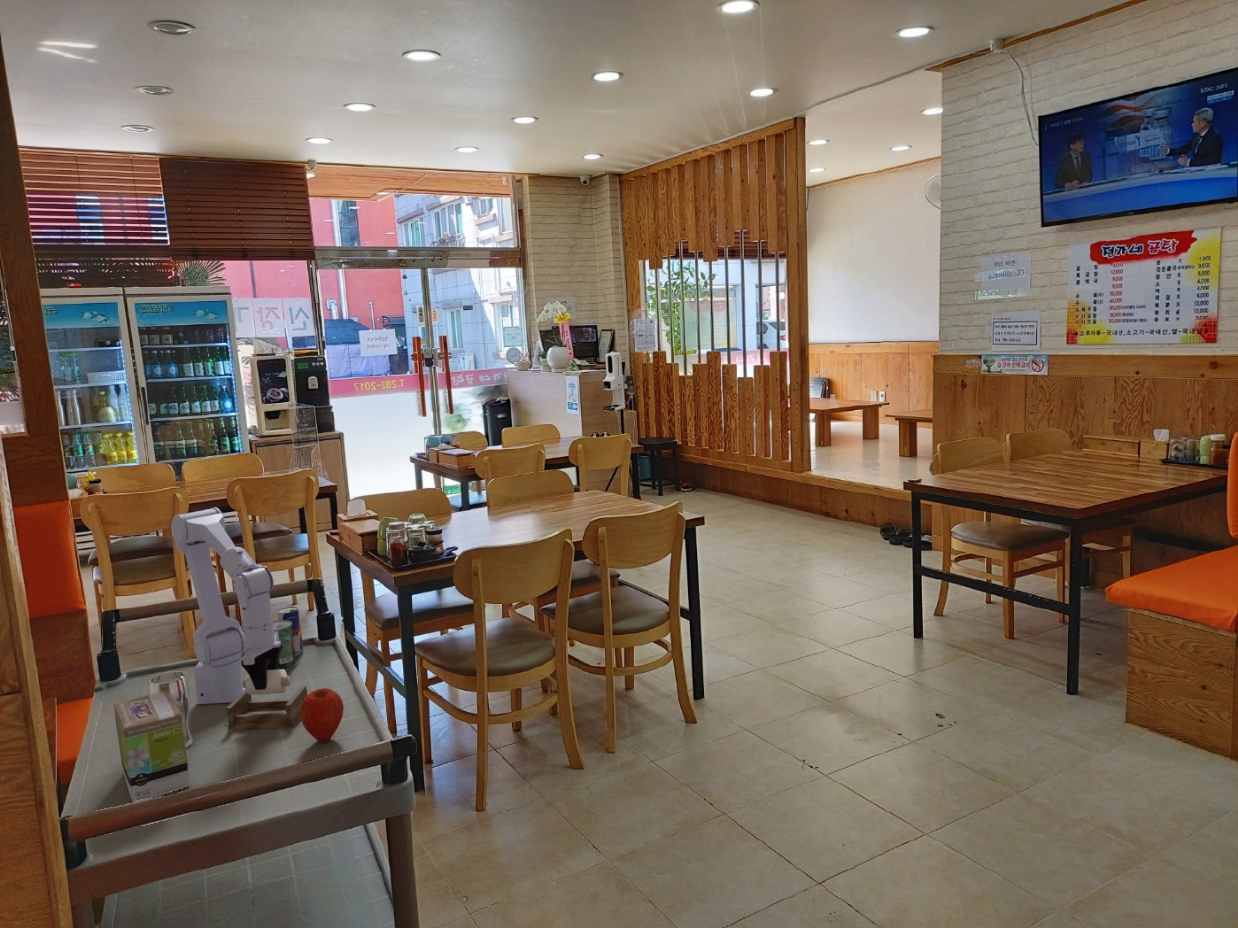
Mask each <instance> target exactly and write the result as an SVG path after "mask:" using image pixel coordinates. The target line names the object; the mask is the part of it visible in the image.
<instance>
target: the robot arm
mask: <svg viewBox="0 0 1238 928" xmlns="http://www.w3.org/2000/svg"><path fill="white" fill-rule="evenodd" d="M171 533H172V536H173V540H174V545H175V547H176V550H177V551H178V552H180V553H184V555H185V559H186V562H187V566H188V569H189V573H190V577H191V581H192V584H193V585H192V586H193V587H194V593H195V596H196V599H197V603H198V608H199V611H200V615H201V619H202V623H201V624H200V625H199V626H198V628H196V630H195V632H194V633H193V635H192V636H193V637H192V638H193V643H194V645H193V649H194V650H193V651H194V654H195V657H196V659H197V661H198V663H197V664H196V666H195V668H194V675H193V676H194V684H195V691H196V692H195V693H196V700H197V701H196V702H195V704H196V705H206V704H207V705H208V704H211V705H212V704H226V703H227V704H228V703H230V704H231V703H232V702H233V701H234V700H235V699H236V698H237V697H238V696H239V695H240V694H241V693H242V692H243V691H244V690H245V689H246V688H244V687H243V676H242V668H243V669H244V670H245V672H246V673H247V674H249V676H250V678H251V680H252V683H253V685H254V687H255V690H265V689H266V686H267V670H277V666H278V660H279V656H280V653H281V650H282V648H283V645H282V644H281V641H278V640H279V635H278V632H274V628H273V619H274V618H273V613H272V605H271V603H272V602H271V596H270V593H271V592H273V590H274V586H275V585H274V583H275V581H274V577H273V574H272V572H271V570H270V569H269V567H267V566H265V565H262V564H257V563H256V561H255V560H253V558H252V557H251V556H250V555H249V554H248V552H247V551H246V549H244V548H243V547H240V546H236V545H235V544H234V542H233V540H232V538H231V537H230V536H229V534H228V533H227V531H226V520H225V516H224V514H223V512H222V511H221V510H220V508H218V507H215V506H214V507H211V508H209V509H208V508H207V509H203V510H197V511H192V512H187V513H183V514H179V513H178V514H174V517H173V519H171ZM211 549H212V550H214V551H215V553H216V554H218V555H219V557H220V559H219V563H220V566H221V567H222V569H223V570H224V571H225V573H226V574H227V575H228V576H229V578H230V579H231V580H232V581H233V590H234V592H235V594H236V597H237V600H238V604H239V607H241V611H242V612H241V613H242V619H243V627H244V632H243V630H242V628H241V625H240V622H239V621H238V620H236V619H233V618H231V617H229V616H227V615H226V611H225V608H224V604H223V600H222V596H221V595H222V594H221V593H220V592H221V591H220V589H219V585H218V581H217V577H216V573H215V569H214V566H213V562H212V557H211V555H210V550H211ZM223 629H224V630H223ZM221 630H222V631H221ZM218 631H220V632H218ZM215 632H216V633H215ZM243 653H244V654H243ZM241 658H242V660H240V659H241ZM241 667H242V668H241Z"/></svg>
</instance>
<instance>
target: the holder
mask: <svg viewBox="0 0 1238 928" xmlns="http://www.w3.org/2000/svg"><path fill="white" fill-rule="evenodd" d="M307 689H308V688H307V685H301V686H300V687H299V688H298V690H297V691H296V692H295V693H294V695H293V696H291V698H285V699H284V698H283V699H282V698H281V699H267V700H266V699H263V700H252V695H249V694H248V693H247V691H246V689H245V690H244V691H243V692H242V693H241V694H240V695H239V696H238V697H237V698H236V699H235V700H234V701H233V702H231V703H230V704H229V705H228V706H227V707H226V713H227V722H228V725H227V730H228V731H243V730H263V729H264V730H265V729H280V728H281V729H282V728H294V727H295V726H296V725H297V724H298V723H299V721H301V717H300V712H301V705H302V702H303V700H304V698H305V697H306V696H307V695H308V690H307Z"/></svg>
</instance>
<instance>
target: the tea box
mask: <svg viewBox="0 0 1238 928" xmlns="http://www.w3.org/2000/svg"><path fill="white" fill-rule="evenodd" d="M113 706H114V707H113V708H114V717H115V723H116V731H117V738H118V746H119V752H120V760H121V769H122V773H123V775H124V779H125V782H126V785H127V789H128V793H129V796H130V799H132V800H131V802H132V801H135V800H140V799H146V798H150V797H154V796H159V797H162V796H166V795H168V794H172V793H173V792H170V791H175V790H177V791H175V792H178V789H181V790H184V789H183V787H187V786H189V787H190V786H191V785H190V784H191V781H190V779H191V778H190V772H189V771H190V770H189V764H188V756H187V748H186V746H185V738H184V729H183V721H182V714H181V712H180V710H179V708H178V707H177V705H176V703H175V701H174V699H173V697H172V695H171V694H170V692H169V690H168V691H164V692H160V693H155V694H151V695H150V694H148V695H144V696H143V695H142V696H139V697H135V698H131V699H127V700H122V701H119V702H115V703H114V705H113ZM181 790H180V791H181ZM165 794H166V795H165ZM161 795H162V796H161Z"/></svg>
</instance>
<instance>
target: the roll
mask: <svg viewBox="0 0 1238 928" xmlns="http://www.w3.org/2000/svg"><path fill="white" fill-rule="evenodd" d="M242 683H243V687H244V688H246V691H247V693H248V694H249V695H251V696H252V695H268V694H269V695H270V694H284V692H286V689H287V687H289V686H290V684H291V677H290V675H287V672H286V671H285V670H284V669H280V670H267V686H266V689H265V690H255V687H254V685H253V683H252V680H251V678H250V676H249V674H248V673H247V674H246V677H244V678H243V679H242Z"/></svg>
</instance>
